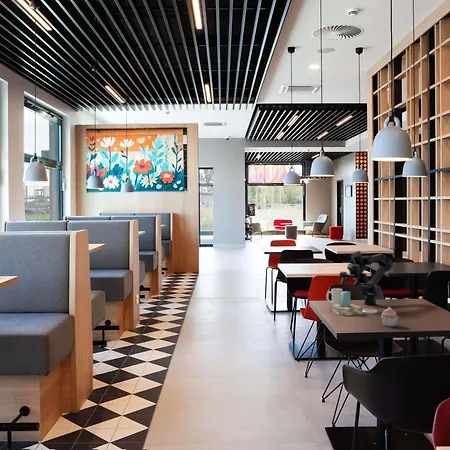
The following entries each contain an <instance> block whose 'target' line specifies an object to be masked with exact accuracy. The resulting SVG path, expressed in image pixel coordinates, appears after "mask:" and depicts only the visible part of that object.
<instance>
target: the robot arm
mask: <svg viewBox="0 0 450 450" xmlns="http://www.w3.org/2000/svg"><path fill="white" fill-rule="evenodd" d="M351 258H352V260H353V263H348V265H347V267H346V269H348V272H347V271H340V272H339V276H340V279H341V281H340V286H343V285H345V284H347V283H348V281H349V279H352V280H356V281H355V282H354V283H353V287H355V288H356V287H358V286H361V285H362V286H361V292H362V295H363V296H364V303H363V304H364V305H366V306H378V303H377V296H379V291H378V289H377V284H379V281H380V280H381V279H382V278H383V276H384V275H385V273H386V272H389V271H390V270H391V269H392V268H393V266H394V263H393V261H392V259H390V258H389V257H388V256H386V254H384V253H376V254H373V255H362V252H361V251H360V250H358V251H356V252H353V253H352V254H351ZM375 262H377V264H378V268H377V270H376V271H375V273H374V274H373V276H372V277H371V278H370V280H369V277H368V275H367V273H364V272H368V267H367V266H371V265H373V264H374V263H375Z"/></svg>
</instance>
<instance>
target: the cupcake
mask: <svg viewBox="0 0 450 450" xmlns="http://www.w3.org/2000/svg"><path fill="white" fill-rule="evenodd" d="M380 319H381V321H382V324H383V326H384V327H389V328H394V327H396V326H397V322H398V320H399V316H398V315H397V312H396V311H395V310H393V308H391V307H390V306H388V307H387V308H386V309H384V310H383V312H382V313H381V315H380Z"/></svg>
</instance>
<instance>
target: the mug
mask: <svg viewBox="0 0 450 450" xmlns="http://www.w3.org/2000/svg"><path fill="white" fill-rule="evenodd" d="M341 292H343V289H342V288H336V287H335V288H331V291H330V290H327V293H326V302H327V303H328V304H330V305H337V304H341ZM329 294H330V295H331V300H330V299H329Z"/></svg>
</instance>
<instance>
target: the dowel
mask: <svg viewBox="0 0 450 450" xmlns="http://www.w3.org/2000/svg"><path fill="white" fill-rule="evenodd" d="M350 304H351V291H347V290H346V291H342V292H341V307H343V308H345V307H351V306H350Z"/></svg>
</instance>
